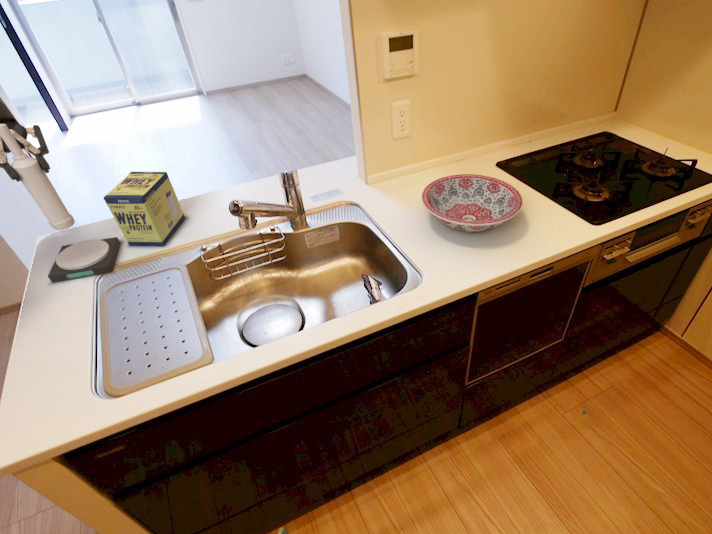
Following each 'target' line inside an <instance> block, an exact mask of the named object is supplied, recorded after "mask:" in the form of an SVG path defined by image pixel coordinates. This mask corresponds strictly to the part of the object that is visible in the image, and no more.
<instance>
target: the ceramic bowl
mask: <svg viewBox="0 0 712 534" xmlns="http://www.w3.org/2000/svg"><path fill="white" fill-rule="evenodd" d="M421 203H422V205H423V207H424V208H425V209H426V211H428V212H429V213H430V214H431V215H433V216H434V217H435V218H436V219H437V220H438V221H439V222H440V223H442V224H443V225H445V226H446V227H448V228H450V229H453V230H456V231H459V232H466V233H477V232H478V233H481V232H486V231H490V230H493V229H494V228H497V227H500V226H501V225H503V224H504V223H505V222H507V221H509V220H511V219H513V218H514V217H516V216H517V215H518V214H519V213H520V212H521V210H522V208H523V203H524V202H523V197H522V195H521V193H520V192H519V190H517V188H515V186H513V185H511V184H510V183H508V182H506V181H504V180H501V179H498V178H495V177H491V176H488V175H482V174H471V173H468V174H467V173H462V174H461V173H460V174H452V175H448V176H443V177H440V178H438V179H435V180H433V181H432V182H430V183H429V184H428V185H426V186H425V188H424V189H423V191H422V192H421ZM466 219H473V220H466Z"/></svg>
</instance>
